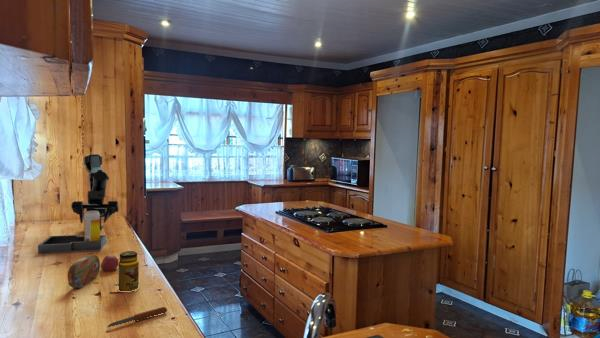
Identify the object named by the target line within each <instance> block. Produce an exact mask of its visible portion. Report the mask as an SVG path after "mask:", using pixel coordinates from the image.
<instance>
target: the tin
mask: <svg viewBox="0 0 600 338" xmlns="http://www.w3.org/2000/svg"><path fill="white" fill-rule="evenodd" d="M100 266H101V263H100V259H99V257H98V255H96V254H92V255H91V254H90V255H86V256H84V257H82V258H80V259H79V260H77V261H75V262H73V263H72V264H71V265H70V267H69V269H68V270H67V281H68V285H69V286H70V287H71V288H72V289H73V288H78V289H81V288H84V287H85V286H86V285H88V284H90V283H91V282H92V281H93V280H95V279H97V277H98V275H99V272H100V269H101V267H100ZM83 286H84V287H83Z"/></svg>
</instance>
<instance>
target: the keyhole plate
mask: <svg viewBox="0 0 600 338" xmlns="http://www.w3.org/2000/svg"><path fill="white" fill-rule="evenodd" d="M107 242H108V240H107V236H106V234H100V240H99V241H85V240H84V235H81V234H71V235H70V234H68V235H49V236H48V237H47V238H46V239H44V240H43V241H41V243H39V244H38V245H37V254H38V255H47V254H49V255H50V254H63V253H67V254H68V253H86V252H101V251H102V249H103V248H104V246H105V245H106V243H107Z"/></svg>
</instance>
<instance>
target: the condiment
mask: <svg viewBox="0 0 600 338" xmlns="http://www.w3.org/2000/svg"><path fill="white" fill-rule="evenodd" d="M119 258H120V259H119V260H118V262H119V263H118V267H117V268H118V283H115V284H114V285H115V286H117V285H118V286H119V290H120V291H132V290H135V289H137V288H138V285H139V283H140V282H139V276H140V274H139V272H140V270H139V268H140V267H139V263H140V262H139V260H138V252H136V251H134V250H128V251H123V252H120V254H119ZM140 285H142V283H141V284H140Z"/></svg>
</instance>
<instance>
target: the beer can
mask: <svg viewBox="0 0 600 338" xmlns="http://www.w3.org/2000/svg"><path fill="white" fill-rule="evenodd" d="M83 224H84V225H83V226H84V227H83V228H84V229H83V231H84V234H83V236H84V240H85V241H99V240H100V235H101V229H100V213H99V211H86V210H85V211H84V217H83Z"/></svg>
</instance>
